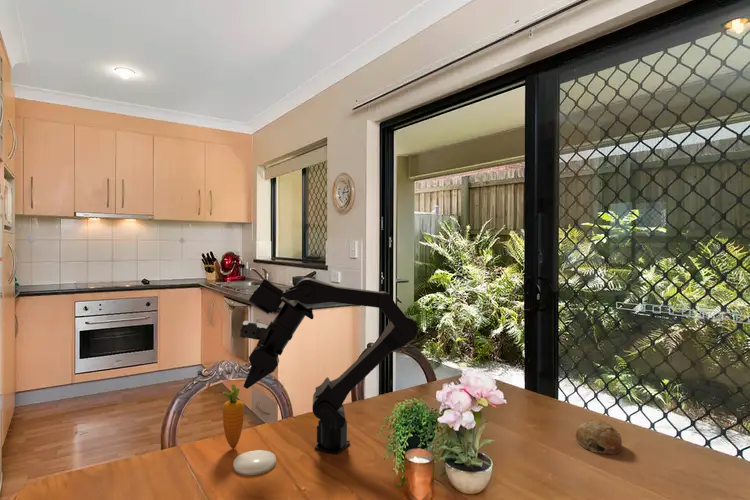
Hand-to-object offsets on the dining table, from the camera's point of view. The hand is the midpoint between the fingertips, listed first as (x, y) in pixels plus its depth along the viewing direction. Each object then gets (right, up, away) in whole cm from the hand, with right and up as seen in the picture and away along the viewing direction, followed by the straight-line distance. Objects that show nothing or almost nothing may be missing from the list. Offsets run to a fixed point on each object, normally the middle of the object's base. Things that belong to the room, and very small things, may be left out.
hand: (248, 381), depth 104 cm
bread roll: (+85, -18, +5) cm, 87 cm away
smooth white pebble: (+3, -17, -6) cm, 18 cm away
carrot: (-4, -17, +1) cm, 17 cm away
